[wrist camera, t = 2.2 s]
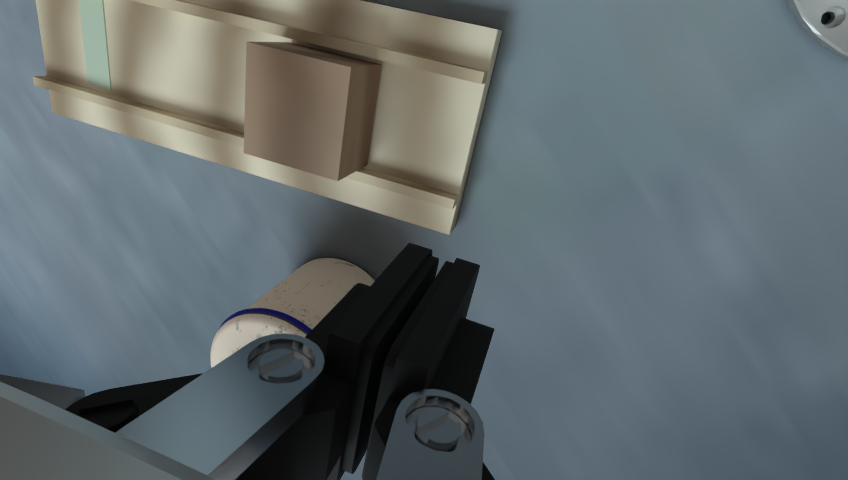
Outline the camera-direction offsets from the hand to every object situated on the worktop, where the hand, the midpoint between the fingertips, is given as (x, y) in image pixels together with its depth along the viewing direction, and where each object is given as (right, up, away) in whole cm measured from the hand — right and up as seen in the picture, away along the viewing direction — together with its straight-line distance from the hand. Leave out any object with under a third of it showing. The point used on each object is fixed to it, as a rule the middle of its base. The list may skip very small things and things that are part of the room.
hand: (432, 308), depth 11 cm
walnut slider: (-6, +10, +18) cm, 21 cm away
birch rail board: (-12, +12, +21) cm, 27 cm away
